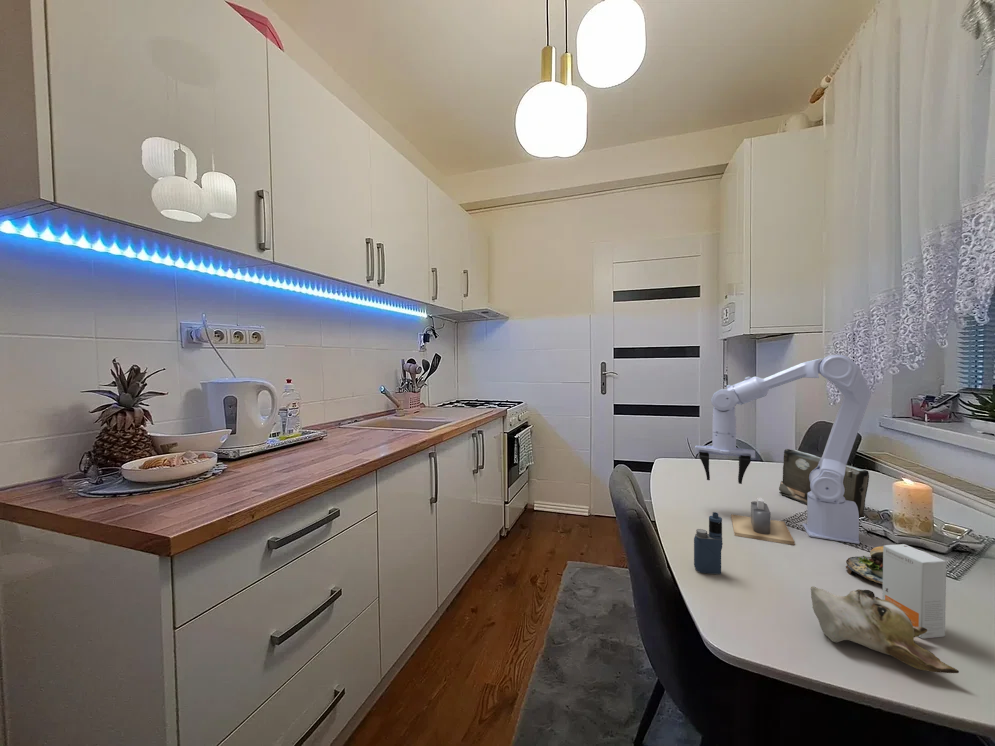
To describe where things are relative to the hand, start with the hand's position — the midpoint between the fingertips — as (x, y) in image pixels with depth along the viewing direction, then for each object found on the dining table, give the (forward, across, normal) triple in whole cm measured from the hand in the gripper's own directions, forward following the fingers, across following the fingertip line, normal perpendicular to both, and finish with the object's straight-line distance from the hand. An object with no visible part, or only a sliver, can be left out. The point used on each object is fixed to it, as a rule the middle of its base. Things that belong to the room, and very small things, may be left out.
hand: (723, 481), depth 111 cm
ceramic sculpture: (+10, +17, -50) cm, 53 cm away
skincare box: (+10, +25, -41) cm, 49 cm away
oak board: (+9, +8, -8) cm, 14 cm away
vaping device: (+10, -4, -36) cm, 37 cm away
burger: (+10, +27, -24) cm, 37 cm away
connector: (+9, +8, -8) cm, 14 cm away
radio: (+10, +26, +21) cm, 35 cm away
